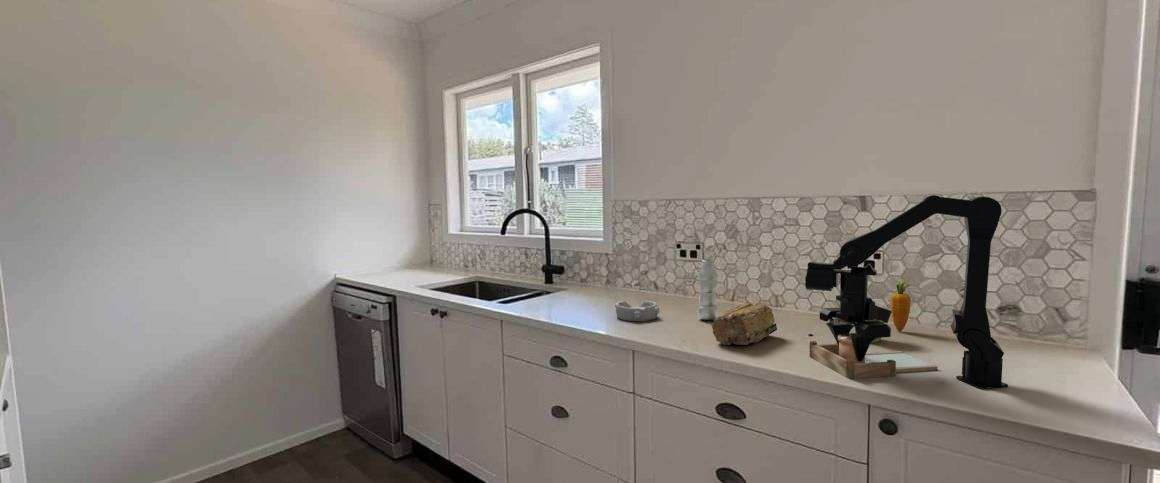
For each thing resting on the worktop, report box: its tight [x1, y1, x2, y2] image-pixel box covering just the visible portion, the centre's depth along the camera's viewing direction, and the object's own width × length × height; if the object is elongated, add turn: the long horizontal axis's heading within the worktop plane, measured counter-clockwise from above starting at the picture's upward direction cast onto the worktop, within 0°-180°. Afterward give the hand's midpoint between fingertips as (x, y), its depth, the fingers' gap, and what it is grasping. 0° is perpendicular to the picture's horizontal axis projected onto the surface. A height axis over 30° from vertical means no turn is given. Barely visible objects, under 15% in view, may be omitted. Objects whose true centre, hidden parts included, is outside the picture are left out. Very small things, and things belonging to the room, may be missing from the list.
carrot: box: [890, 281, 911, 333], centre depth 151 cm, size 5×5×15 cm
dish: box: [614, 300, 661, 322], centre depth 177 cm, size 14×14×5 cm
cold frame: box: [809, 340, 897, 380], centre depth 123 cm, size 16×11×4 cm
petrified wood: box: [711, 302, 778, 346], centre depth 147 cm, size 19×13×10 cm
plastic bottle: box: [696, 258, 719, 321], centre depth 170 cm, size 6×7×20 cm
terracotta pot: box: [838, 334, 866, 364], centre depth 123 cm, size 6×6×7 cm
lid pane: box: [865, 350, 939, 373], centre depth 124 cm, size 12×11×1 cm
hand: (852, 357), depth 123 cm, fingers closed on terracotta pot, 6 cm apart
